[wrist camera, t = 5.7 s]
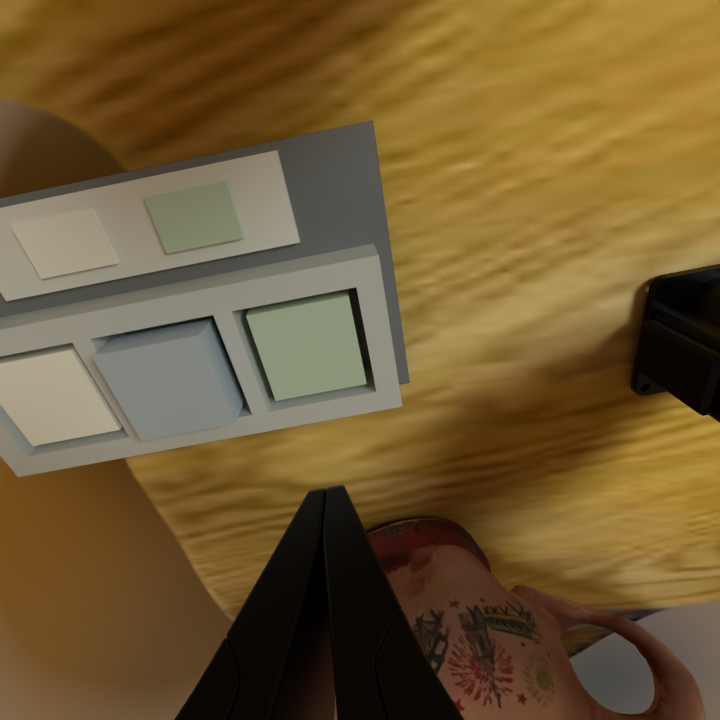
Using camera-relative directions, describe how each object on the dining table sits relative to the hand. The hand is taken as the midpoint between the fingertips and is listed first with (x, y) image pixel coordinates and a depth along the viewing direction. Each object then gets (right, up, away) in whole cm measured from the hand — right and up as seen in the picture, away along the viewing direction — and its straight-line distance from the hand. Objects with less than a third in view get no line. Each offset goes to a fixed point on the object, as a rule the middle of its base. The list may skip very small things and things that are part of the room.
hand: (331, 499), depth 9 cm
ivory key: (-12, +2, +8) cm, 15 cm away
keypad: (-7, +6, +8) cm, 12 cm away
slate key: (-7, +3, +7) cm, 10 cm away
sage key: (-1, +4, +8) cm, 9 cm away
